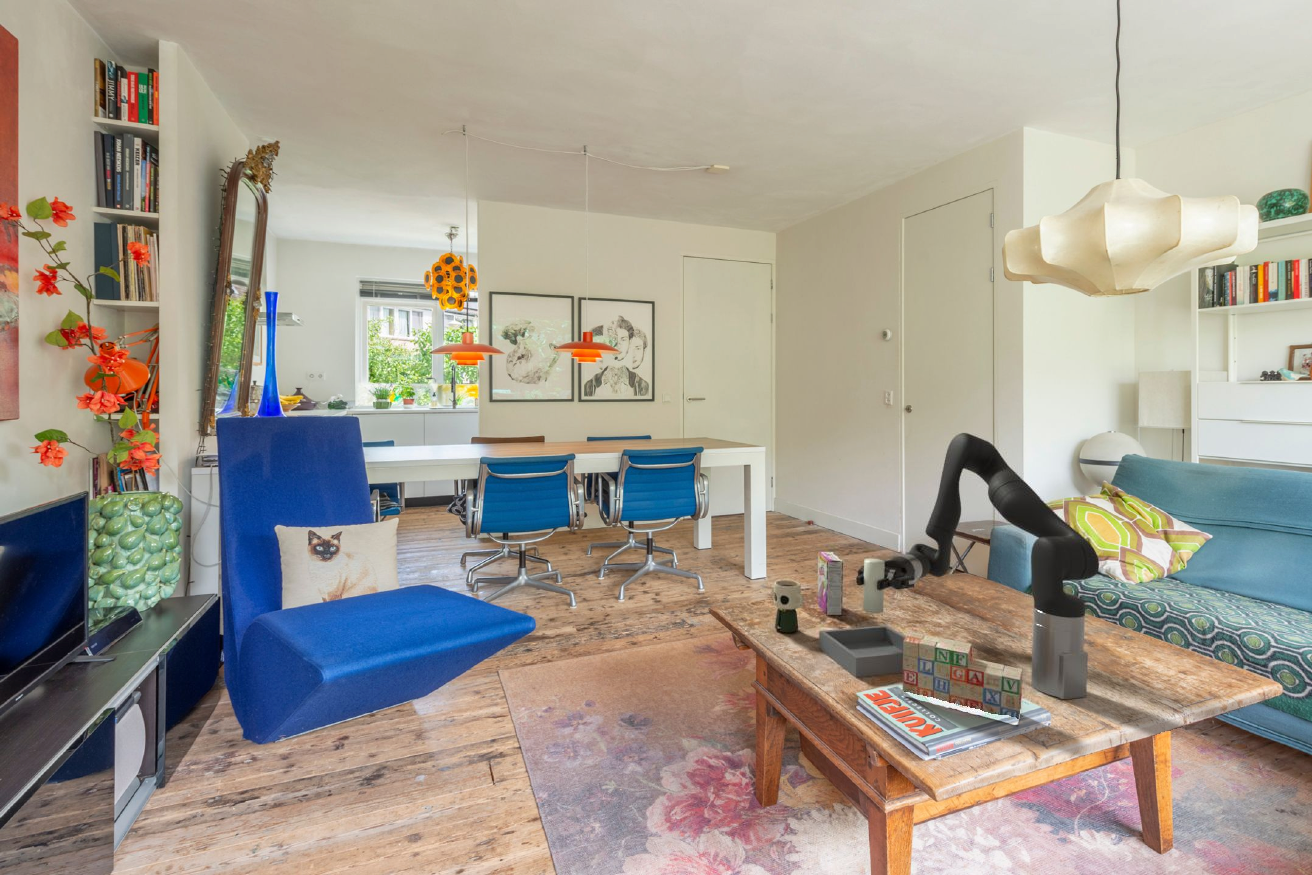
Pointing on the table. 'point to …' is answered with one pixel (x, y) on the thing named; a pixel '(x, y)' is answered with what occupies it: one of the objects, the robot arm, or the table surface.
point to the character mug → (787, 604)
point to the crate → (865, 649)
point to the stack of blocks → (959, 675)
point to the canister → (873, 585)
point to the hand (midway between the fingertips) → (868, 583)
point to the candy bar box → (830, 583)
